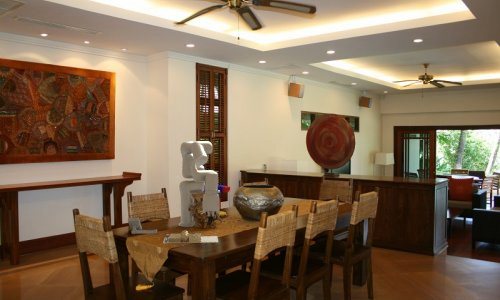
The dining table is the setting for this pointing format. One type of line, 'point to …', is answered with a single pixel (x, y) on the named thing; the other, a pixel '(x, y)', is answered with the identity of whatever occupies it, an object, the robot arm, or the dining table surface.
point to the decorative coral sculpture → (203, 216)
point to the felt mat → (203, 239)
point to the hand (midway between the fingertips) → (210, 222)
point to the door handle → (138, 227)
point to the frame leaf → (179, 237)
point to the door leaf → (194, 237)
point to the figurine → (222, 189)
